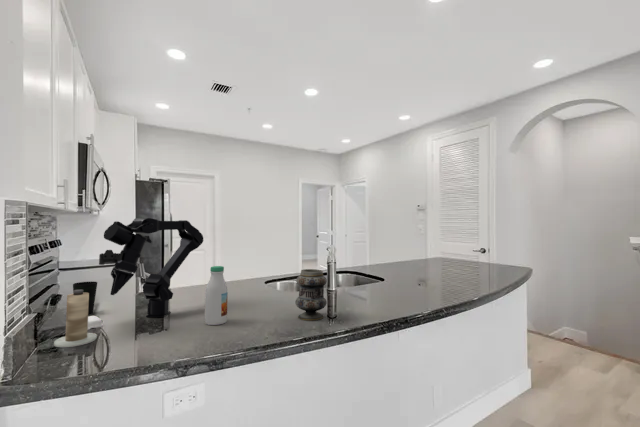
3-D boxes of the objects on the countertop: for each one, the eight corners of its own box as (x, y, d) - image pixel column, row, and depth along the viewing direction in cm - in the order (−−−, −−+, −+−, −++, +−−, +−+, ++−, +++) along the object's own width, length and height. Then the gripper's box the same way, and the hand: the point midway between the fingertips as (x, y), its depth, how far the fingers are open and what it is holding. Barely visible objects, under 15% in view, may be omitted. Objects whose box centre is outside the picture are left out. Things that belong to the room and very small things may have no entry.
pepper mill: (91, 336, 95) (92, 289, 96) (71, 342, 90) (73, 292, 91) (81, 334, 97) (82, 288, 98) (61, 339, 92) (63, 291, 93)
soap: (73, 326, 108) (73, 317, 108) (96, 321, 114) (96, 313, 114) (80, 332, 103) (80, 323, 103) (104, 327, 108) (105, 318, 108)
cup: (82, 317, 117) (84, 285, 118) (66, 316, 119) (67, 284, 119) (101, 312, 125) (102, 281, 125) (85, 311, 126) (86, 281, 127)
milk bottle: (214, 327, 108) (215, 268, 109) (199, 323, 112) (201, 266, 113) (231, 321, 114) (232, 266, 115) (217, 318, 119) (218, 264, 119)
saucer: (104, 335, 99) (104, 332, 99) (79, 347, 89) (79, 344, 89) (72, 335, 99) (72, 332, 99) (44, 347, 89) (44, 344, 89)
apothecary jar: (332, 317, 121) (333, 270, 122) (311, 324, 112) (311, 273, 113) (310, 311, 130) (311, 267, 130) (288, 317, 121) (289, 270, 122)
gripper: (105, 247, 115) (84, 289, 108) (108, 237, 101) (85, 286, 94) (138, 256, 120) (120, 297, 114) (145, 248, 106) (126, 295, 99)
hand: (113, 294), depth 105 cm, fingers open, 9 cm apart
